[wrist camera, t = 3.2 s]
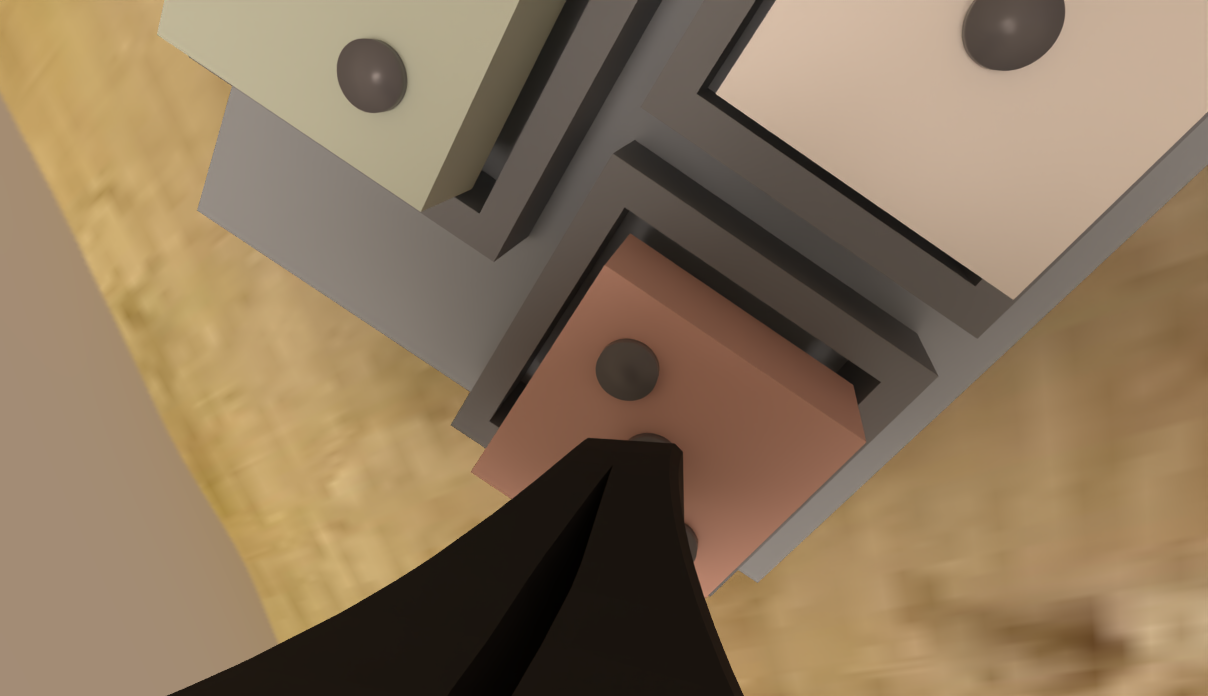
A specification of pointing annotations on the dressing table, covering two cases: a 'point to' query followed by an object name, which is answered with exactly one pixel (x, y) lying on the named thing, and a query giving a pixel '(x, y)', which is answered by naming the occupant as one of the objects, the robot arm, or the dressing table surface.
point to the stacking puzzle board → (650, 232)
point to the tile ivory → (980, 110)
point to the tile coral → (684, 404)
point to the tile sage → (377, 76)
